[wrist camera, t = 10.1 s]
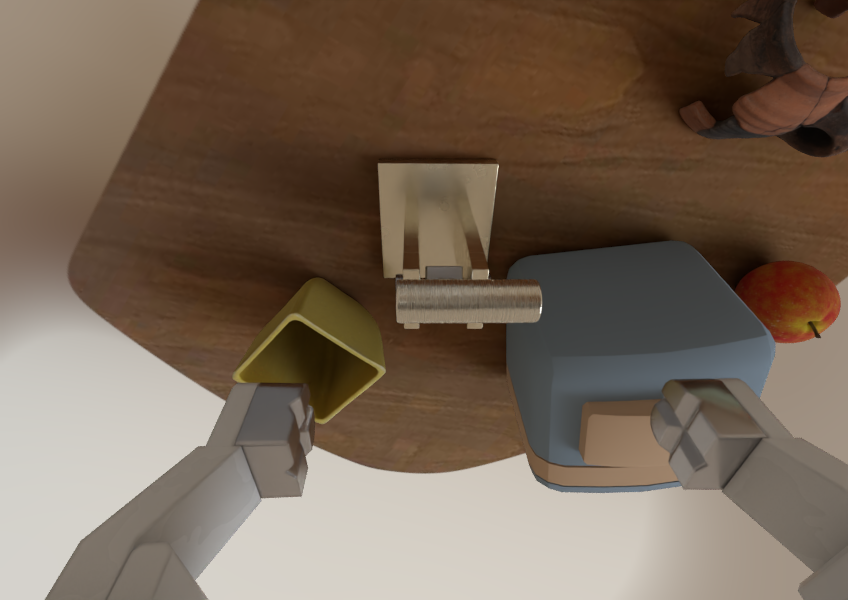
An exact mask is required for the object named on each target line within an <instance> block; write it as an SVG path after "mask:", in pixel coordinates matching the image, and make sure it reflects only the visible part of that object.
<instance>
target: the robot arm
mask: <svg viewBox="0 0 848 600" xmlns="http://www.w3.org/2000/svg"><path fill="white" fill-rule="evenodd" d="M661 392H662V394H663V395H664V398H663V399H661V400H660V401H658V402H657V403H656V404H654V407H653V409H652V411H651V414H650V426H651V429H652V432H653V435H654V437H655V439H656V441H657V443H658V445H660V446H661V447H662V448H664V449H665V450H666V451H668V452H669V453H670V455H669V460H668V463H669V464H670V466H671V468H672V470H673V471H674V473H675V475H676V477H677V479H678V480H679V482H680V484H681V486H682V487H683V489H699V490H700V489H701V490H704V489H705V490H709V489H710V490H712V489H713V490H722V492H723V493H724V494H725V495H726V496H727V497H728V498H729V499H731V500H732V501H733V502H734V503H735V504H736V505H738V506H739V507H740V508H741V509H742V510H743V511H744V512H746V513H747V514H748V515H749V516H750V517H751V518H752V519H754V520H755V521H756V522H757V523H758V524H759V525H760V526H762V527H763V528H764V529H765V530H766V531H767V532H769V533H770V534H771V535H772V536H773V537H774V538H775V539H777V540H778V541H779V542H780V543H782V545H784V546H785V547H786V548H787V549H788V550H789V551H790V552H792V553H793V554H794V555H795V556H796V557H797V558H799V559H800V560H801V561H802V562H803V563H804V564H805V565H806V566H808V567H809V568H810V569H811V570H812V571H813V572H814V573H813V574H812V575H810V576H809V577H808V578H807V579H805V580H804V581H803V582H802V583H800V586H799V589H798V592H799V593H800V595H801V596H802V598H803V599H804V600H848V465H847V464H845V463H844V462H842V461H841V460H839V459H837V458H835V457H834V456H832V455H830V454H828V453H827V452H825V451H823V450H822V449H820V448H818V447H816V446H814V445H813V444H811V443H809V442H807V441H806V440H804V439H802V438H794V437H793V436H792V435H791V434H790V433H789V431H788V430H787V429H786V428H785V427H784V426H783V424H781V422H780V421H779V420H778V419H777V418H776V417H775V415H774V414H773V413H772V412H771V411H770V410H769V409H768V407H767V406H766V405H765V404H764V403H763V402H762V401H761V400H760V398H759V397H758V396H757V395H756V394H755V393H754V392H753V390H752V389H751V388H750V387H749V386H748V385H747V384H746V383H745V382H744V381H742V380H740V379H739V378H717V379H711V378H709V379H671V380H669V381H668V382H666V383H665V385H664V387H663V388H662V390H661ZM310 395H311V394H310V390H309V386H308V384H306V383H237V384H236V385H235V386H234V387H233V388H232V390H231V392H230V394H229V396H228V398H227V400H226V403H225V405H224V407H223V409H222V411H221V414H220V416H219V418H218V420H217V422H216V425H215V427H214V429H213V431H212V434H211V436H210V438H209V440H208V442H207V445H206V446H200V447H197V448H196V449H195V450H193V451H192V452H191V453H190V454H189V455H187V456H186V457H185V458H183V459H182V460H181V461H180V462H179V463H177V464H176V465H175V466H173V467H172V468H171V469H170V470H169V471H167V472H166V473H165V474H163V475H162V476H161V477H160V478H158V480H156V481H155V482H153V483H152V484H151V485H150V486H149V487H147V488H146V489H145V490H144V491H142V492H141V493H140V494H139V495H137V496H136V497H135V498H134V499H132V500H131V501H130V502H129V503H127V504H126V505H125V506H124V507H122V508H121V509H120V510H119V511H117V512H116V513H115V514H114V515H112V516H111V517H110V518H109V519H108V520H106V521H105V522H104V523H102V524H101V525H100V526H99V527H97V528H96V529H95V530H94V531H92V532H91V533H90V534H89V535H88V536H86V537H85V538H84V539H82V540H81V541H80V543H79V544H78V546H77V548H76V550H75V551H74V553H73V554H72V556H71V558H70V559H69V561H68V562H67V564H66V566H65V567H64V569H63V571H62V572H61V574H60V576H59V577H58V579H57V581H56V582H55V584H54V586H53V587H52V589H51V590H50V592H49V594H48V595H47V597H46V599H45V600H208V598H207V597H206V595H205V594H204V593H203V591H202V590H201V588H200V587H199V585H198V584H197V583H196V581H195V580H196V579H197V578H198V576H199V575H200V574H201V573H202V572H203V570H204V569H205V568H206V567H207V566H208V564H209V563H210V562H211V561H212V560H213V558H214V557H215V556H216V555H217V554H218V552H219V551H220V550H221V549H222V547H223V546H224V545H225V544H226V543H227V542H228V540H229V539H230V538H231V537H232V535H233V534H234V533H235V532H236V531H237V530H238V528H239V527H240V526H241V525H242V524H243V522H244V521H245V520H246V519H247V518H248V516H249V515H250V514H251V513H252V511H253V510H254V509H255V508H256V507H257V506H258V504H259V503H260V502H261V498H276V497H298V496H302V493H303V488H304V483H305V479H306V475H307V470H308V466H307V462H306V457H305V456H306V455H307V454H308V453H309V452H310V451H311V450H312V446H313V441H314V434H315V415H314V409H313V407H311V406H310V405H309V404H308V403H309V399H310Z"/></svg>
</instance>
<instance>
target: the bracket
mask: <svg viewBox="0 0 848 600" xmlns="http://www.w3.org/2000/svg"><path fill="white" fill-rule="evenodd" d="M498 166H499V164H498V162H497V160H496V159H379V160H378V179H379V199H380V220H381V240H382V260H383V278H396V282H397V280H399V279H420V278H425V266H462V267H463V279H491V276H490V274H489V267H488V264H487V263H488V254H489V245H490V236H491V227H492V219H493V210H494V201H495V192H496V183H497V175H498ZM466 326H467V329H482V328H483V323H466ZM419 328H420V323H404V329H419Z"/></svg>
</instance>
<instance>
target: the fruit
mask: <svg viewBox="0 0 848 600" xmlns="http://www.w3.org/2000/svg"><path fill="white" fill-rule="evenodd" d="M734 292H735V293H736V294H737V295H738V297H739V298H740V299H741V300H742V301H743V302H744V303H745V304H746V305H747V307H748V308H749V309H750V310H751V311H752V312H753V313H754V314H755V316H756V317H757V318H758V319H759V320H760V321H761V322H762V323H763V325H764V326H765V327H766V328H767V329H768V330H769V331H770V333H771V335H772V337H773V339H774V341H775V342H778V343H796V342H802V341H806V340H809V339H811V338H814V337H816V338H821V337H820V335H819V334H820V333H822V332H823V331H824V330H825V329H827V328H828V327H829V326H830V325H831V324H832V323H833V322H834V321H835V320H836V318H837V317H838V314H839V311H840V307H841V303H840V296H839V293H838V291H837V289H836V287H835V285H834V284H833V282H832V281H831V280H830V279H829V278H828V277H827V276H826V275H825V274H824V273H822V272H821V271H819V270H817V269H816V268H814V267H812V266H809V265H806V264H803V263H800V262H794V261H777V262H772V263H768V264H765V265H763V266H760V267H758V268H756V269H754V270H752V271H751V272H749V273H748V274H746V275H745V276H744V277H743V278H742V279H741V280H740V282H739V283H738V285H737V286H736V289H735V291H734Z"/></svg>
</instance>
